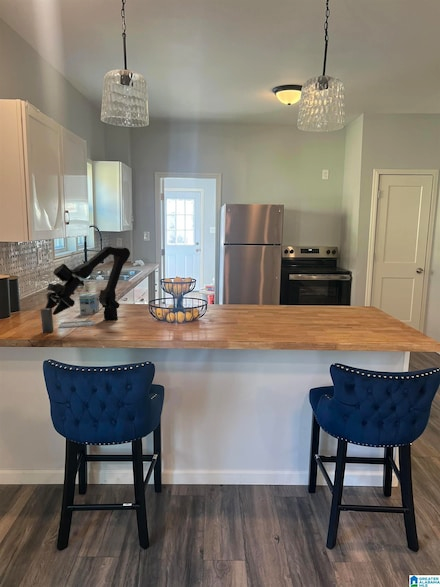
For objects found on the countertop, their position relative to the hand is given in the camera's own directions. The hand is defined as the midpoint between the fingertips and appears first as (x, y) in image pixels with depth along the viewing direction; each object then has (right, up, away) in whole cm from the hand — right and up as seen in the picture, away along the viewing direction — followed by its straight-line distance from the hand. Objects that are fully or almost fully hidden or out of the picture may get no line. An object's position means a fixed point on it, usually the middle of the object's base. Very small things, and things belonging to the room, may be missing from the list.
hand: (49, 313), depth 196 cm
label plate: (+8, -6, +14) cm, 17 cm away
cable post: (-1, -9, +1) cm, 9 cm away
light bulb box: (+6, -2, +43) cm, 44 cm away
